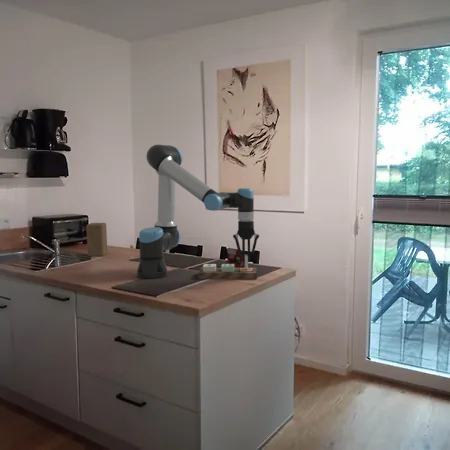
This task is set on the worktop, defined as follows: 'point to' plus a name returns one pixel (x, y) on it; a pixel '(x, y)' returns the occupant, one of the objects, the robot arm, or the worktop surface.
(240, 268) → the tile
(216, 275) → the board
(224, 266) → the tile
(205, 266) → the tile
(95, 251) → the wooden block
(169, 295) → the worktop surface
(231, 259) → the toy fire truck
